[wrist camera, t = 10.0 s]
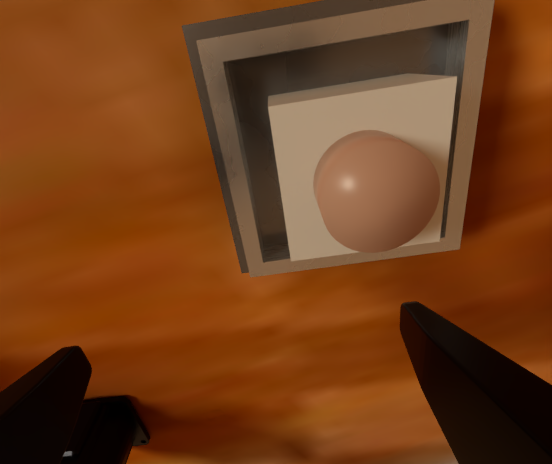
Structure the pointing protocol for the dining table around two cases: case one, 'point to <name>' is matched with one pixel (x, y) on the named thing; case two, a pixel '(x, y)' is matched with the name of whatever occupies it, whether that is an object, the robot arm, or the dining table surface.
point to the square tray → (321, 73)
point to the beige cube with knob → (363, 163)
